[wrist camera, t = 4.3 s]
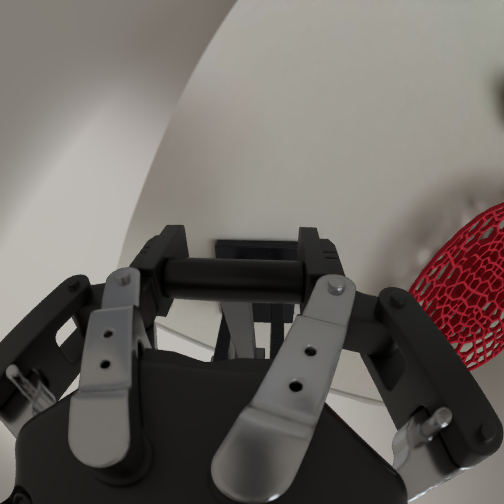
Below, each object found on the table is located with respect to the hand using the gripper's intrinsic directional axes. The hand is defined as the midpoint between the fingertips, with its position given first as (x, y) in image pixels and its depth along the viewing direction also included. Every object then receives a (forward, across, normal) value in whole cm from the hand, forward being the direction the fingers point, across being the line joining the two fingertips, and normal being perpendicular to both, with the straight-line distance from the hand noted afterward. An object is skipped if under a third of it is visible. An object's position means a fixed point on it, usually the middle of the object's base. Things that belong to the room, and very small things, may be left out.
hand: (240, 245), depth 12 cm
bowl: (+13, -29, +13) cm, 35 cm away
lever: (+1, 0, +6) cm, 6 cm away
